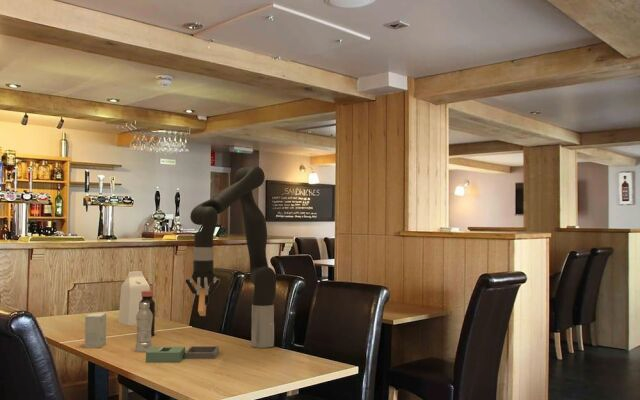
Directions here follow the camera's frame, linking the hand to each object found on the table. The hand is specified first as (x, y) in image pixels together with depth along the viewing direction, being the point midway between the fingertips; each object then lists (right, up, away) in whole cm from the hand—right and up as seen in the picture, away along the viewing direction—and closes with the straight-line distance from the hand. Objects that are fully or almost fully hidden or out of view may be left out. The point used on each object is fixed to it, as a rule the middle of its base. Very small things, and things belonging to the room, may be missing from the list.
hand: (202, 304), depth 230 cm
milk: (-50, -23, +78) cm, 96 cm away
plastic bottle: (-24, -21, +7) cm, 33 cm away
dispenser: (-12, -20, -8) cm, 25 cm away
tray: (0, -20, -1) cm, 20 cm away
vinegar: (-34, -22, +45) cm, 60 cm away
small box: (-49, -21, +21) cm, 57 cm away
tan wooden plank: (0, -3, -2) cm, 4 cm away
